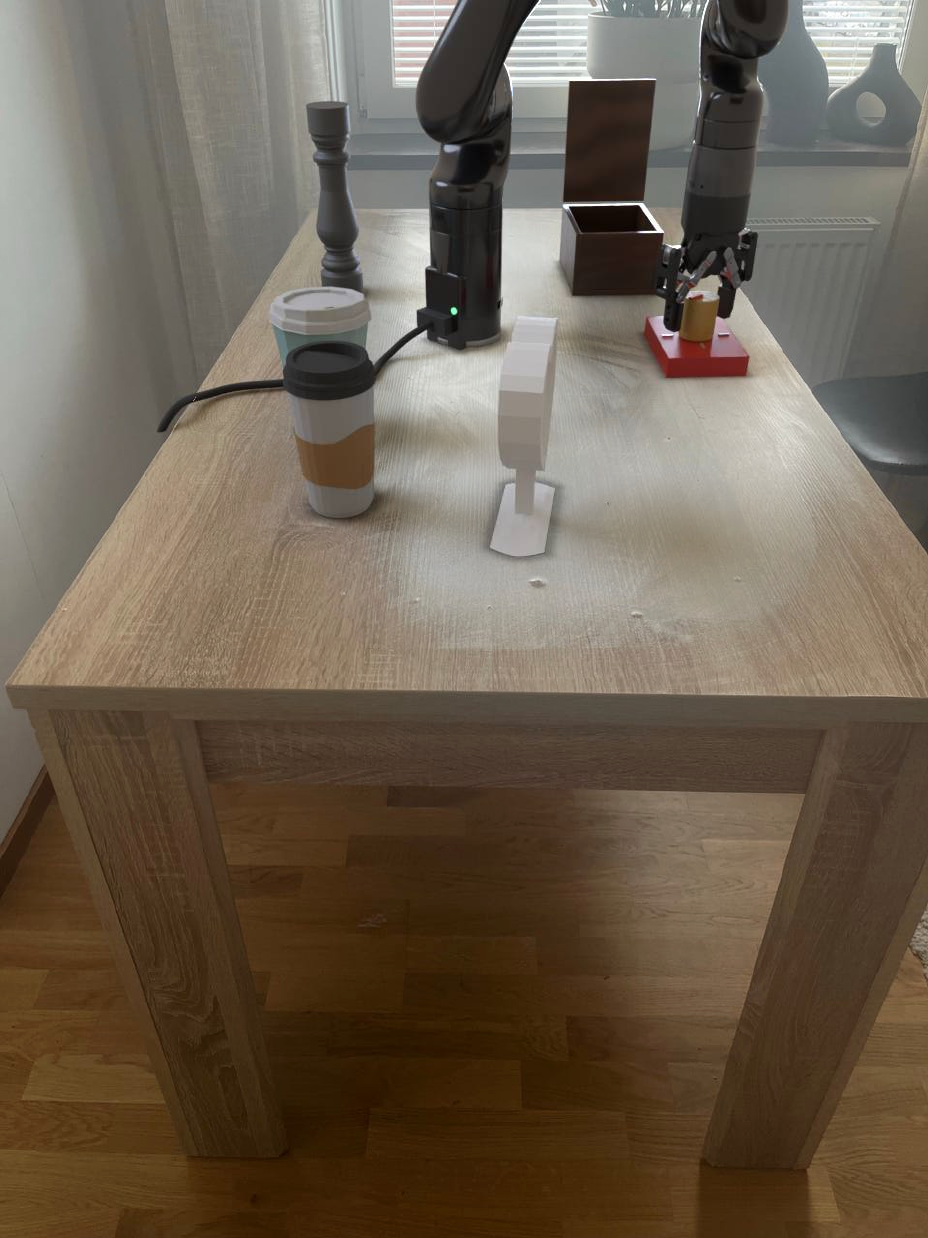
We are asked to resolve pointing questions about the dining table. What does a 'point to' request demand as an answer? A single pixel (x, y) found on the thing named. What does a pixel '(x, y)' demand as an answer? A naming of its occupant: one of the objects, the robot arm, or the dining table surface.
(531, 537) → the heart sculpture
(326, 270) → the candle holder
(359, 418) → the coffee cup
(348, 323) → the disposable coffee cup
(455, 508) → the dining table surface
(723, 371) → the panel
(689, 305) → the valve knob
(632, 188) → the box lid
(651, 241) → the dark wooden box
